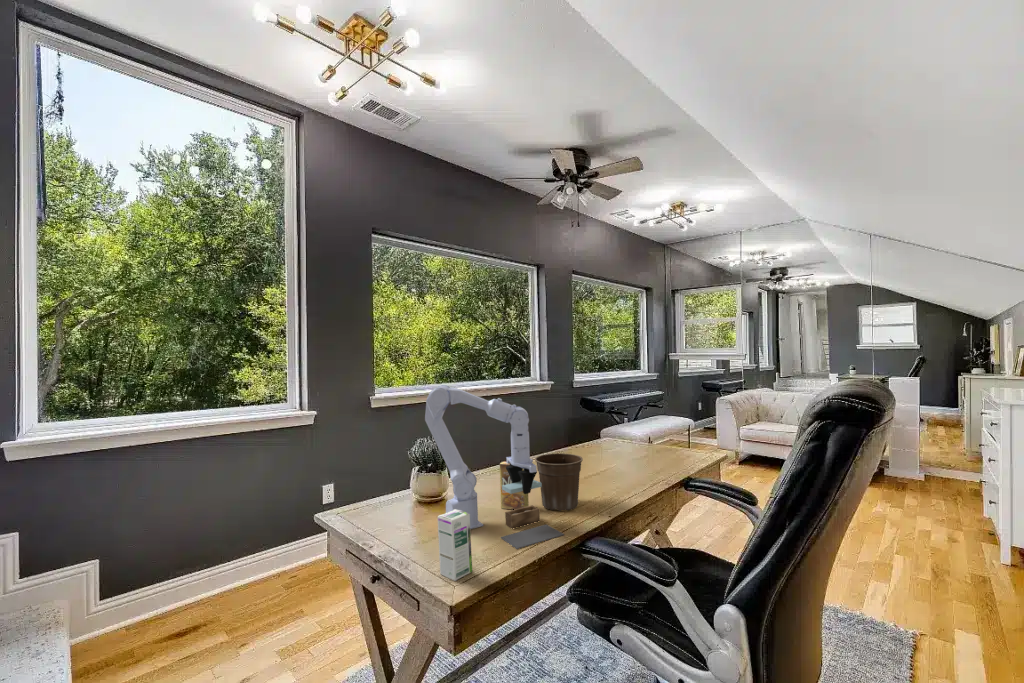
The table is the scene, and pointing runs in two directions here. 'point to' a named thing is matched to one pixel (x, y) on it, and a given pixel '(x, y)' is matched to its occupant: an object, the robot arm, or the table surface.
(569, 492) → the plant pot
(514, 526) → the crate
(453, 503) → the robot arm
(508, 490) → the lid
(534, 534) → the mat
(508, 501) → the candy box
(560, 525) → the table surface
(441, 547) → the syrup box
